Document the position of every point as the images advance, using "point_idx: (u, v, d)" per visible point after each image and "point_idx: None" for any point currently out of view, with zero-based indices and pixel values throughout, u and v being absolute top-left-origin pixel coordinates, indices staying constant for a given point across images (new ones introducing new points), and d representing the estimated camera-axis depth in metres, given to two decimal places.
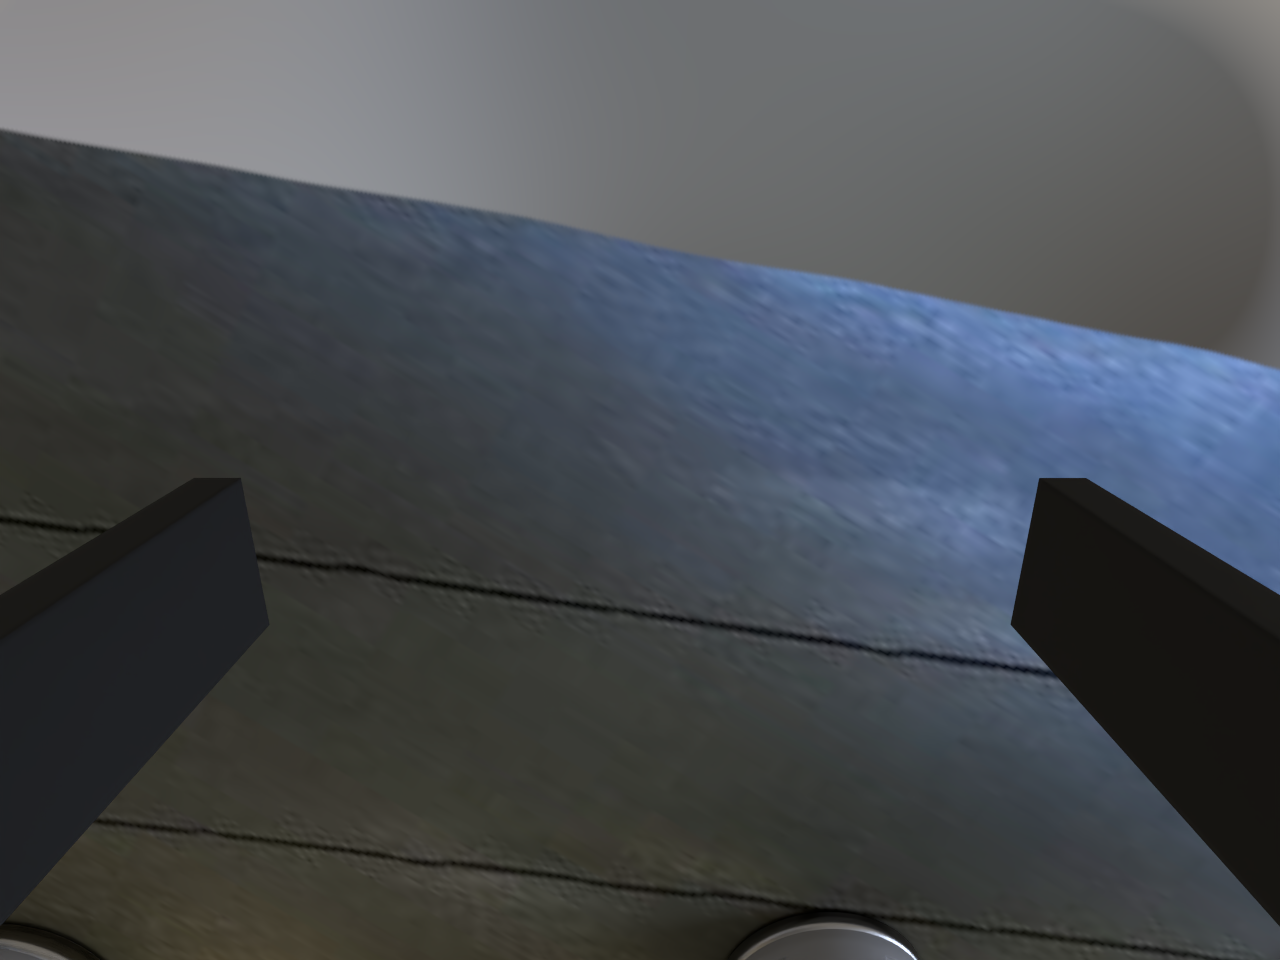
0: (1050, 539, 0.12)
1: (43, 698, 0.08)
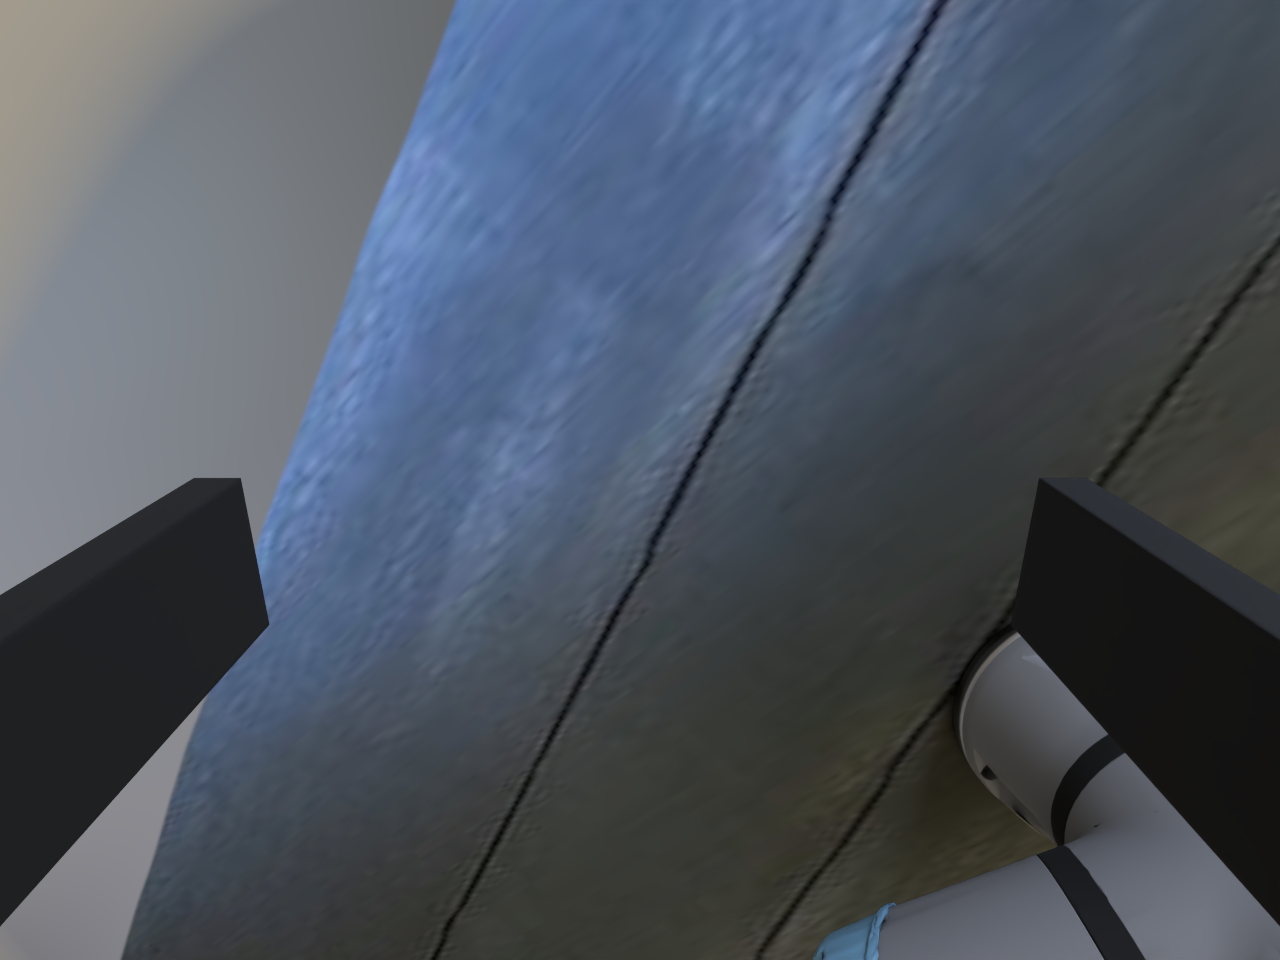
0: (1050, 539, 0.12)
1: (43, 698, 0.08)
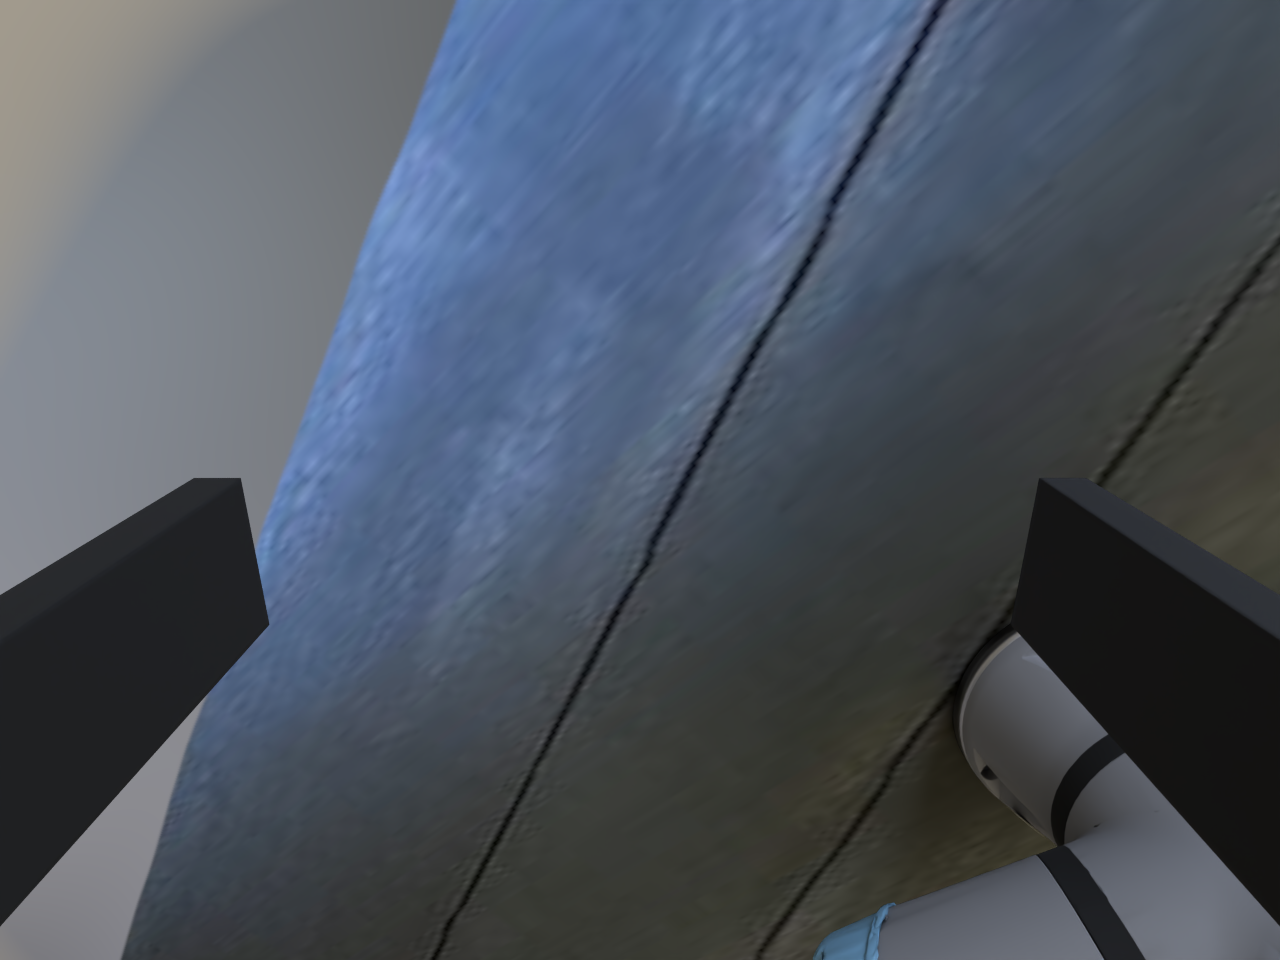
0: (1050, 539, 0.12)
1: (43, 698, 0.08)
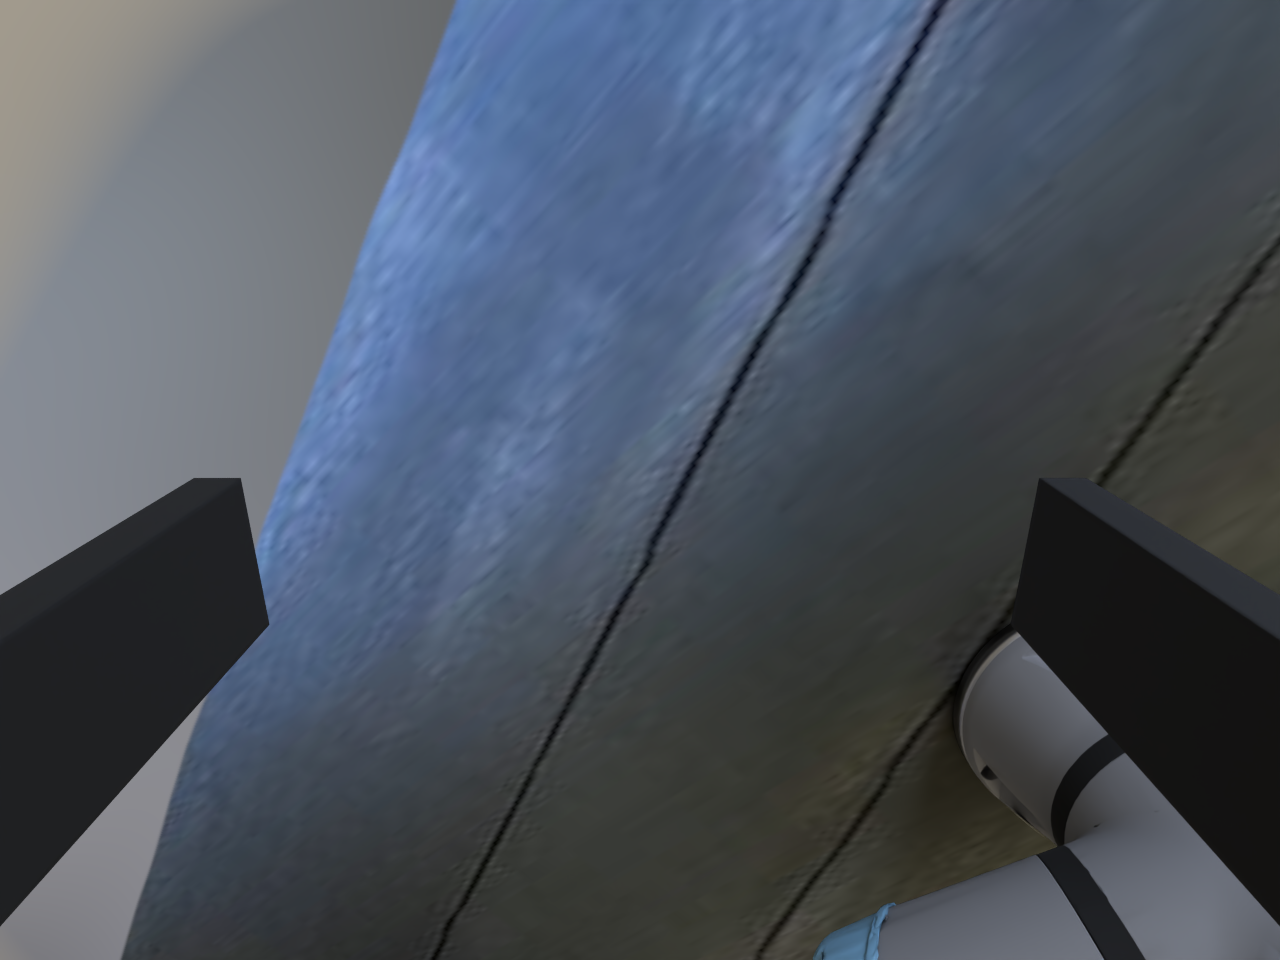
0: (1050, 539, 0.12)
1: (43, 698, 0.08)
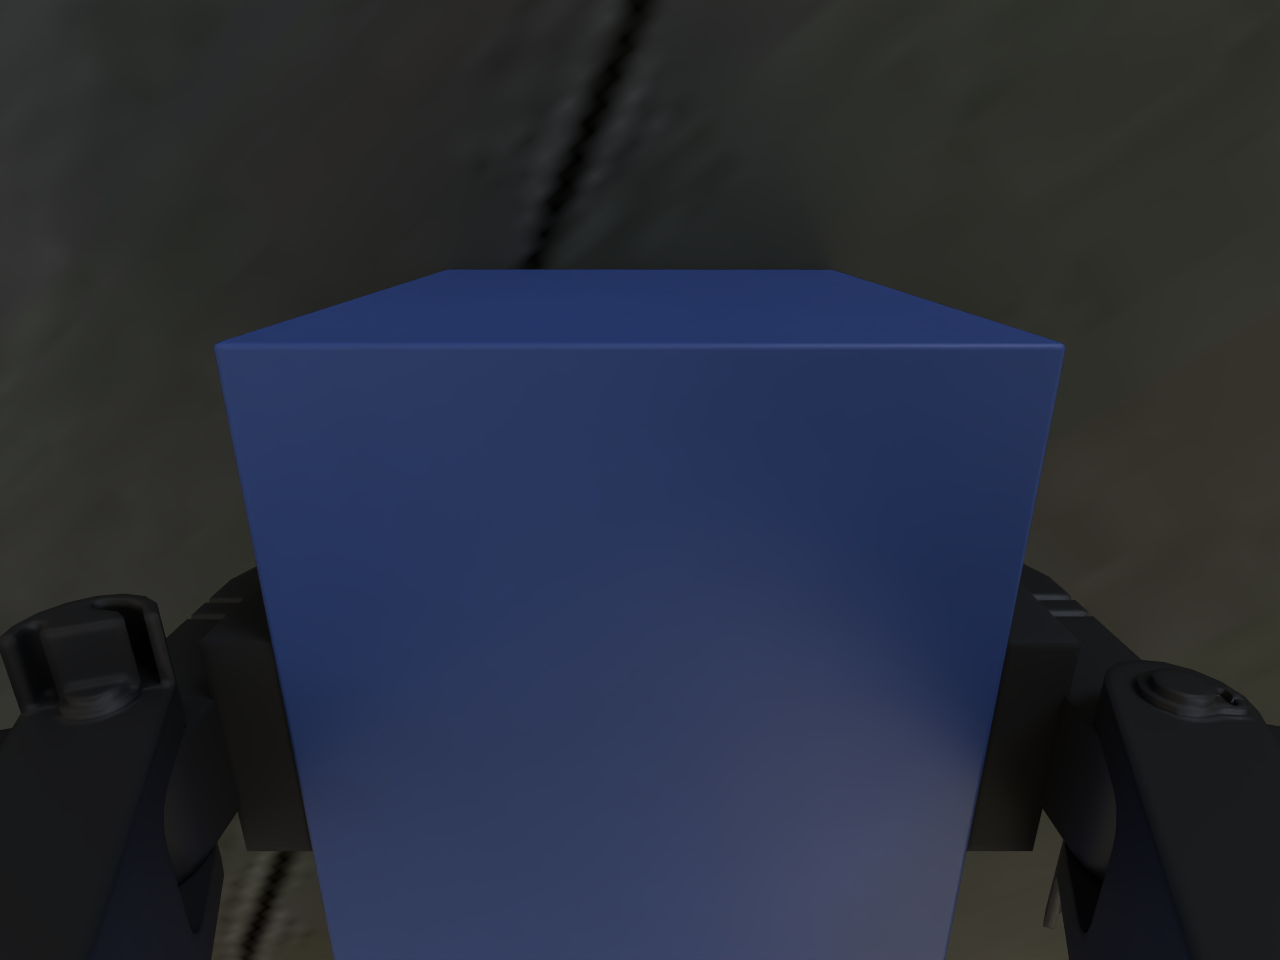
0: None
1: None
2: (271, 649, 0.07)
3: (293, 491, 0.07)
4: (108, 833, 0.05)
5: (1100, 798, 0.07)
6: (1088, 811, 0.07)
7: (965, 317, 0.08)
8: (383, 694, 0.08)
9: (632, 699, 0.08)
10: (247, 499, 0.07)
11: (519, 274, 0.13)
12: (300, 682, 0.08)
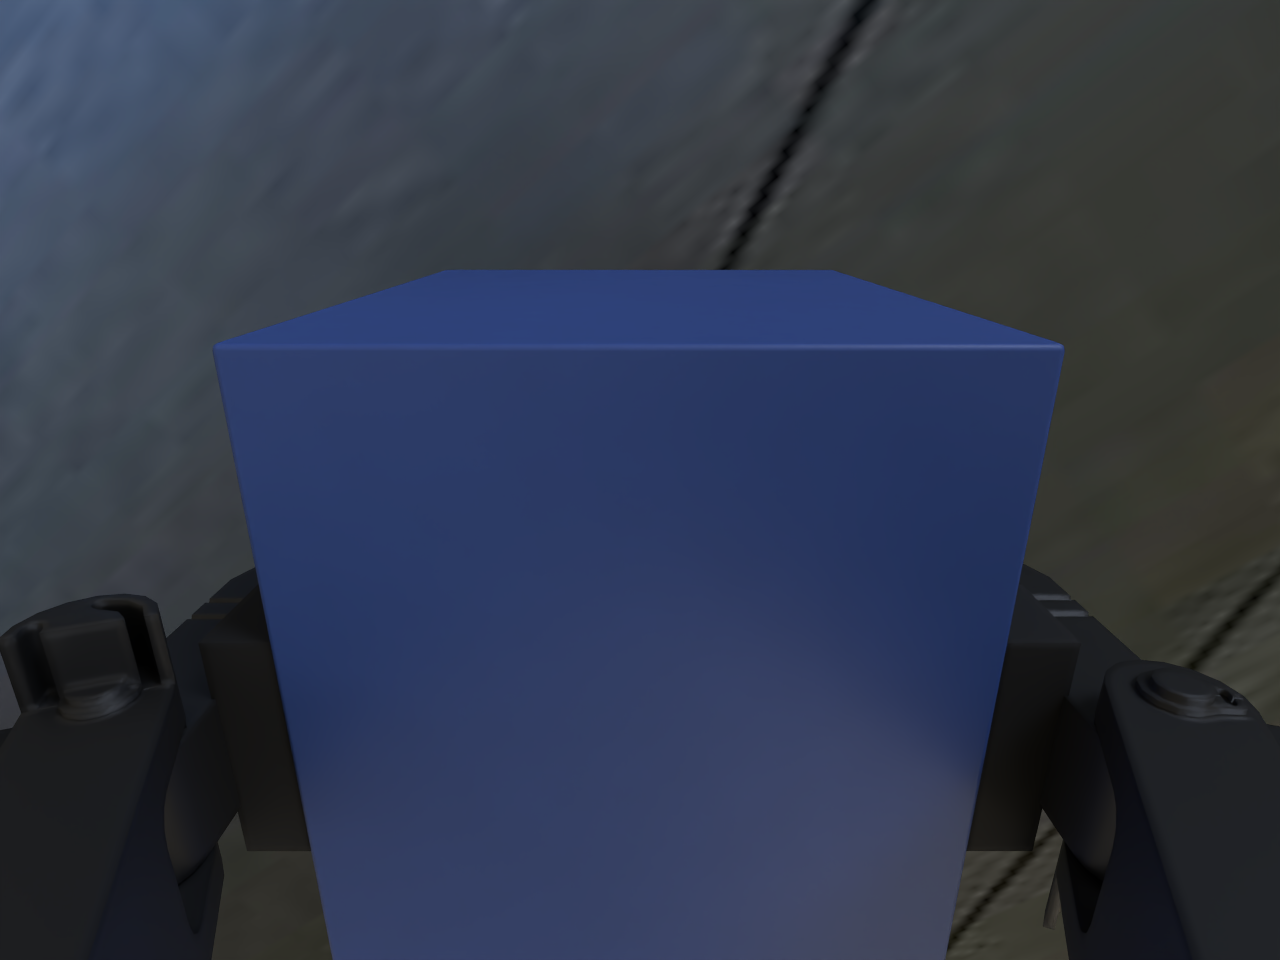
0: None
1: None
2: None
3: (292, 492, 0.07)
4: (108, 833, 0.05)
5: (1100, 798, 0.07)
6: (1088, 811, 0.07)
7: (964, 317, 0.08)
8: (382, 694, 0.08)
9: (631, 699, 0.08)
10: (246, 500, 0.07)
11: (518, 274, 0.13)
12: (299, 683, 0.08)
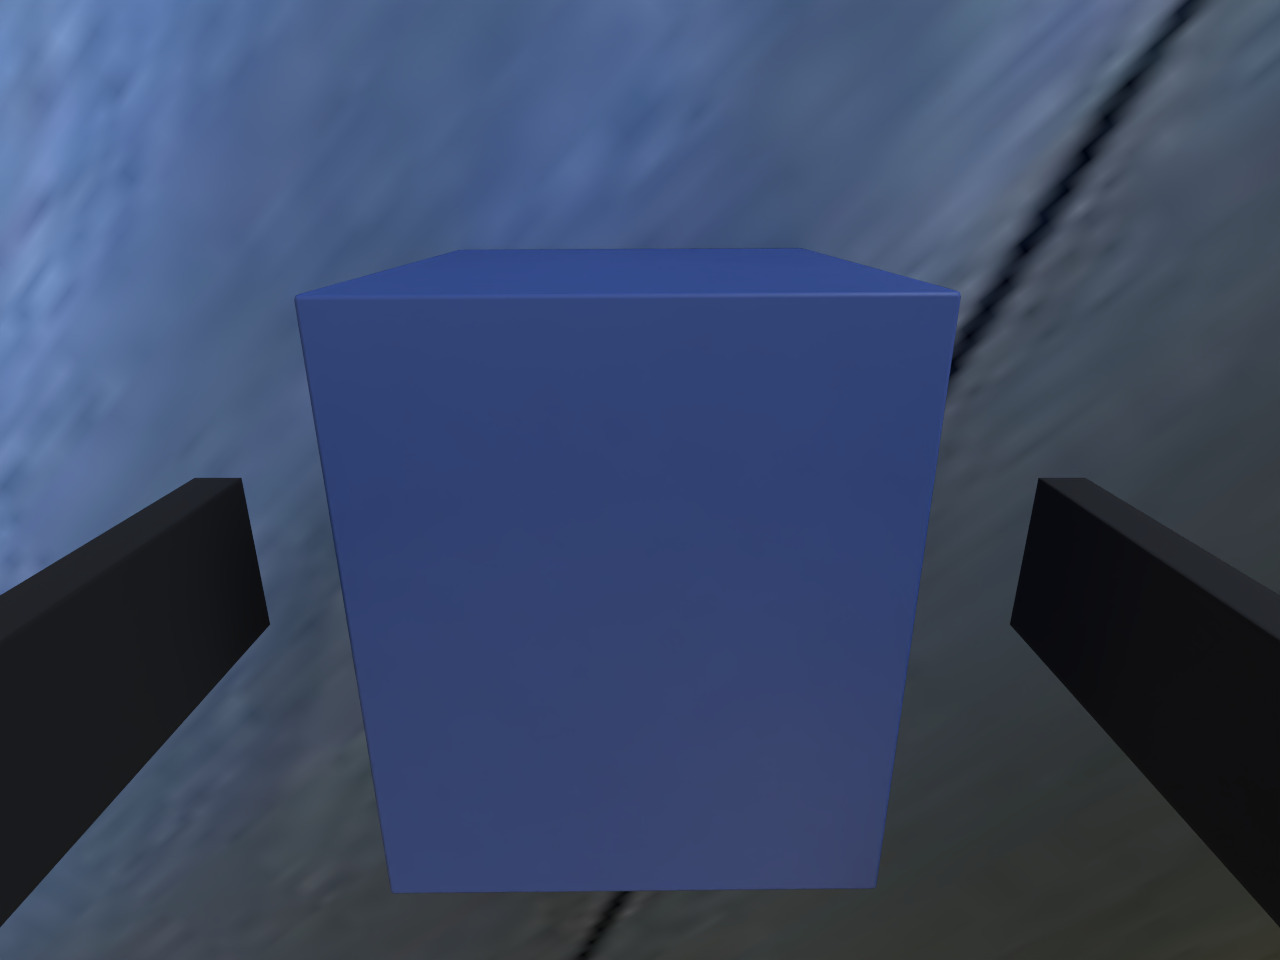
0: (1049, 539, 0.12)
1: (44, 698, 0.08)
2: None
3: (354, 415, 0.09)
4: None
5: None
6: None
7: (894, 277, 0.10)
8: (423, 584, 0.09)
9: (625, 586, 0.09)
10: (317, 421, 0.09)
11: (524, 252, 0.15)
12: (356, 575, 0.09)
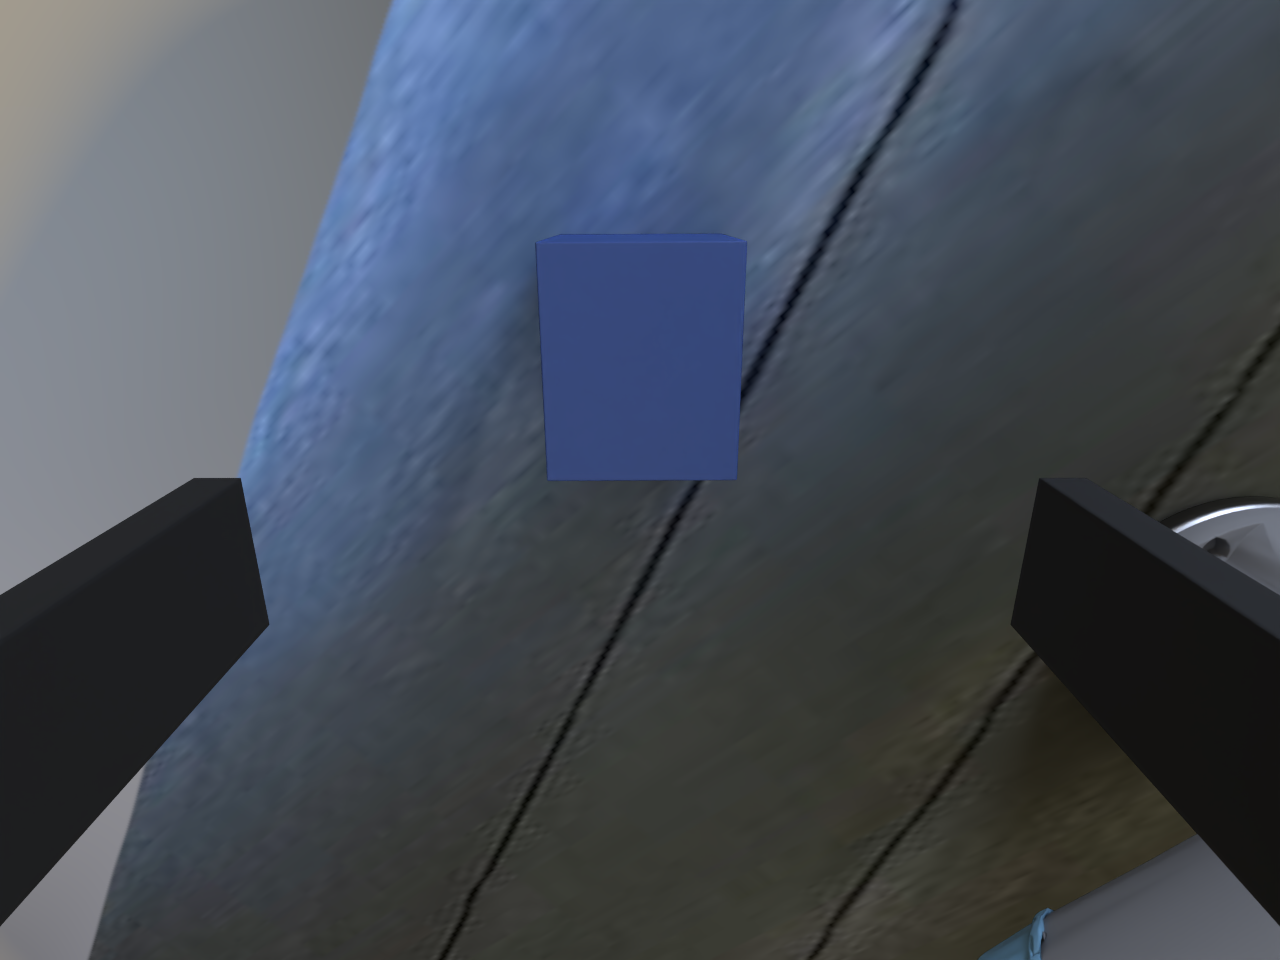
0: (1050, 539, 0.12)
1: (43, 698, 0.08)
2: None
3: (551, 282, 0.26)
4: None
5: None
6: None
7: (734, 239, 0.27)
8: (569, 345, 0.27)
9: (639, 346, 0.27)
10: (539, 284, 0.26)
11: None
12: (546, 341, 0.27)
